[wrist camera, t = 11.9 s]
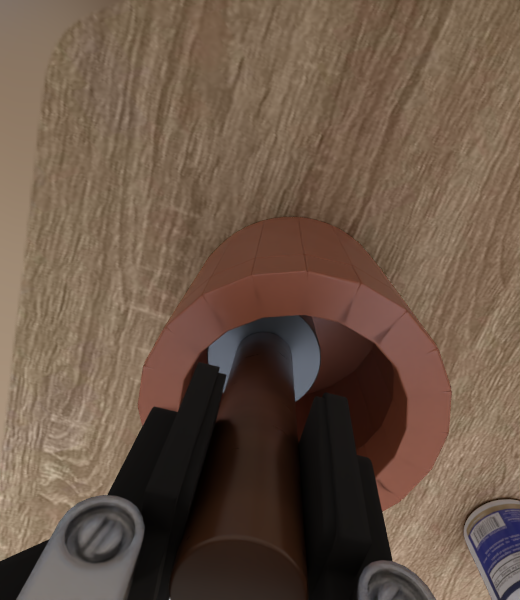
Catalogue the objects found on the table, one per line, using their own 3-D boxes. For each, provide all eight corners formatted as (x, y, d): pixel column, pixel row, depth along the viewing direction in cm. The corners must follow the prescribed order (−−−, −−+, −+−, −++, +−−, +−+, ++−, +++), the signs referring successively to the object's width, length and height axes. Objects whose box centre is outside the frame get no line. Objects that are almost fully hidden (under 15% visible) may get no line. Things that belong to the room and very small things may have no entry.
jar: (212, 195, 22) (160, 236, 13) (414, 242, 23) (505, 315, 13) (181, 372, 26) (124, 501, 17) (353, 410, 27) (390, 557, 17)
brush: (229, 276, 19) (121, 441, 6) (326, 300, 19) (420, 513, 6) (209, 366, 20) (80, 668, 7) (300, 389, 20) (336, 728, 7)
